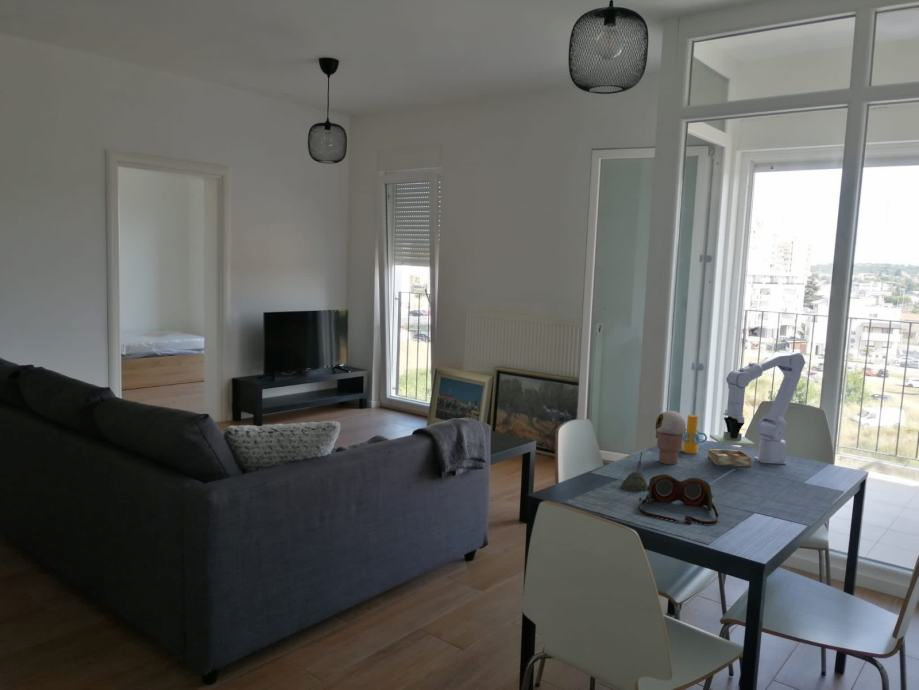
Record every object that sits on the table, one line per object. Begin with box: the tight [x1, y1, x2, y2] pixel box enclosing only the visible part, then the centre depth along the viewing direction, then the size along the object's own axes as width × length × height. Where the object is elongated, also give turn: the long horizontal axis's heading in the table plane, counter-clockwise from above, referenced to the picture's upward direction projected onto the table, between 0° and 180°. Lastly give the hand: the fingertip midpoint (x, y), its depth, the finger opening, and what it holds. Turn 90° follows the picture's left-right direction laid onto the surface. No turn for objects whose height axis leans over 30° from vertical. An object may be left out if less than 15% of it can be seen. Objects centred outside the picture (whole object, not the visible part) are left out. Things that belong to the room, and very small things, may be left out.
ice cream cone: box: [655, 410, 687, 465], centre depth 272 cm, size 11×11×20 cm
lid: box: [709, 431, 756, 447], centre depth 274 cm, size 13×10×4 cm
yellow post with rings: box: [681, 414, 708, 454], centre depth 289 cm, size 12×10×15 cm
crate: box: [707, 448, 752, 467], centre depth 277 cm, size 13×10×4 cm
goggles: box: [637, 473, 719, 526], centre depth 218 cm, size 24×24×10 cm
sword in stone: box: [619, 452, 649, 493], centre depth 239 cm, size 10×8×12 cm
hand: (732, 437), depth 274 cm, fingers closed on lid, 2 cm apart
